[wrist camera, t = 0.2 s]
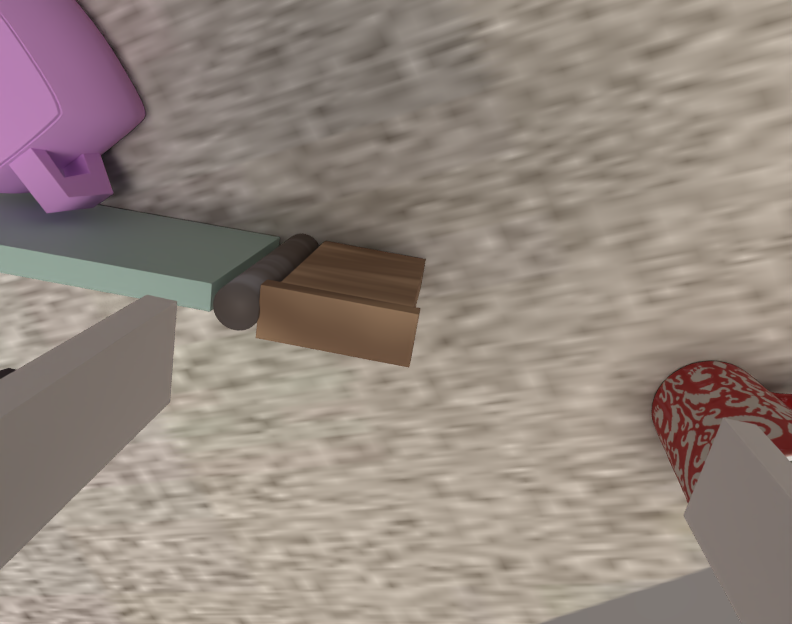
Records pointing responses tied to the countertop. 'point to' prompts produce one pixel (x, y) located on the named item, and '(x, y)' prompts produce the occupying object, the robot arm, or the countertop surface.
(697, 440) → the mug
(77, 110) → the teapot
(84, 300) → the countertop surface
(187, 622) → the countertop surface
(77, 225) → the door
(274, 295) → the doorframe
